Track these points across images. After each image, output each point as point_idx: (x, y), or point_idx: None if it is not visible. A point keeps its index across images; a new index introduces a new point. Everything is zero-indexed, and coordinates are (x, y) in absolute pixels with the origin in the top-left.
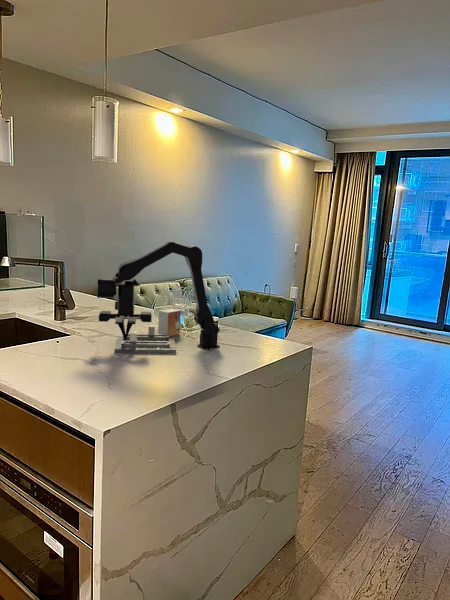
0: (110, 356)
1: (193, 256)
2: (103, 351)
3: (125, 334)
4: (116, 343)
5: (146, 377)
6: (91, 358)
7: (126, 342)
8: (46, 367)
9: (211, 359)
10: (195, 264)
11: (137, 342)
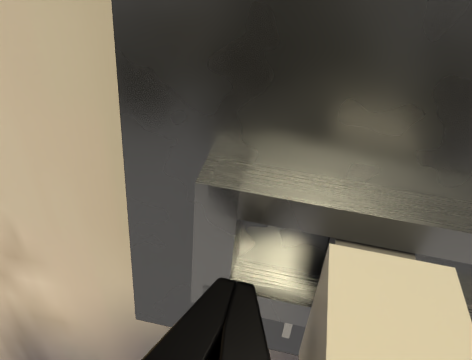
0: (129, 338)
1: None
2: (39, 217)
3: (217, 354)
4: (125, 124)
5: None
6: (7, 340)
7: (266, 215)
8: None
9: None
10: None
11: (446, 248)
